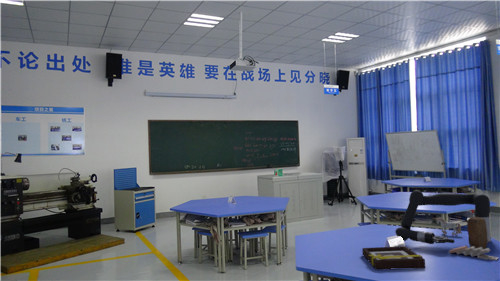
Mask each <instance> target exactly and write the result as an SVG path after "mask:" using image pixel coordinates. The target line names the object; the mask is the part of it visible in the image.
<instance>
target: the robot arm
mask: <svg viewBox="0 0 500 281" xmlns="http://www.w3.org/2000/svg"><path fill="white" fill-rule="evenodd" d="M408 200H409V202H408V205H407V208H406V210H405V212H404V214H403V217H402V219H401V220H400V221H401V222H400V226H401V227H397V228H396V229H395V234H396V236H397V237H398V236H401V237H402V238H403V240H404V241H403V242H406V241H407V240H408V239H409V240H410V241H414V242H419V243H423V244H428V245H429V244H430V245H433V244H445V243H450V244H454V243H455V239H454V238H448V237H447V236H445V235H438V234H437V235H435V233H434V232H431V231H424V230H423V231H421V230H420V231H419V230H413V229H411V227H412V225H413V224H414V220H415V217H416V213H417V211H418V207H419V206H449V207H450V206H451V207H452V206H460V205H472V206H474V211H473V217H480V218H483V219H485V221H486V228H487V242H488V243H490V242H492V233H491V220H490V219H491V218H490V215H491V201H490V198H489V196H487V195H485V194H483V193H481V192H478V193H477V192H476V193H458V192H457V193H455V192H454V193H453V192H439V193H436V194H432V195H424V193H423V192H422V191H421V190H418V189H415V190H413V191H411V192H410V195H409V199H408Z"/></svg>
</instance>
